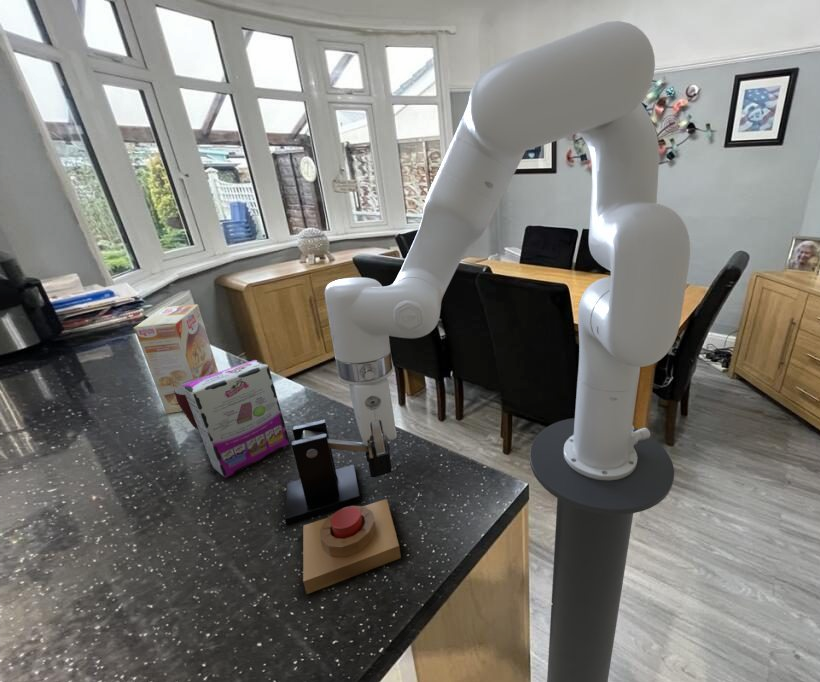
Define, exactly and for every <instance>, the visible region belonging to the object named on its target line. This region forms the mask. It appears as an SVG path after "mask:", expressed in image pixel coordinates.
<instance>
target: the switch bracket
mask: <svg viewBox="0 0 820 682" xmlns="http://www.w3.org/2000/svg"><path fill="white" fill-rule="evenodd" d="M291 429H292V434H293V438H294V440H293V441H291V448H292V453H293V456H294V460H295V464H296V468H297V472H298V476H299V479H296V480H293V481H290V482H287V483H286V490H285V491H286V494H285V511H284V513H285V514H284V520H285V524H286V526H290V525H292V524H295V523H298V522H302V521H305V520H308V519H311V518H314V517H318V516H321V515H324V514H327V513H331V512H333V511H338V510H341V509H343V508H345V507H350V506H353V505H356V504H359V503H361V502H362V500H361V495H360V488H359V484H358V478H357V472H356V467H355V464H350V465H346V466H344V467H340V468H337V469H336V464H335V460H334V456H333V451H332V450H333V449H330V448H329V444H328V439H330V436H329V432H328V427H327V423H326V419H321V420H316V421H313V422H308V423H303V424H299V425H295V426H292V428H291ZM303 430H307V431H316V432H324V434H322V435H318V436H314V437H309V438H305V439H301V436H302V433H303ZM300 439H301V440H300Z"/></svg>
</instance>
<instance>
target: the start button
mask: <svg viewBox="0 0 820 682" xmlns="http://www.w3.org/2000/svg"><path fill="white" fill-rule="evenodd" d="M338 510H339V511H338ZM338 510H336V511H335V512H336V513H335V512H334V513H335V514H334V513H333V514H334V515H333V514H332V515H333V517H332V519H331V526H332V530H333V534H334V535H335V536H336V537H337V538H341V539H344V538H348V537H351V536H354V535H355V534H356V533H358V532H359V531H360V529H361V528H362V525H363V521H362V516H361V512H360V510H359V509H358V508H356V507H350V506H346V507H343V508H340V509H338Z"/></svg>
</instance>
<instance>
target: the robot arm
mask: <svg viewBox="0 0 820 682" xmlns="http://www.w3.org/2000/svg"><path fill="white" fill-rule="evenodd" d="M655 57H656V56H655V53H654V49H653V45H652V44H651V41H650V39H649V37H648V36H647V35H646V34H645V32H644V31H643V30H641V29H640V28H639V27H638V26H636V25H634V24H632V23H629V22H625V21H620V20H615V21H614V20H613V21H612V20H611V21H606V22H602V23H598V24H596V25H592V26H590V27H588V28H584V29H582V30H580V31H577V32H575V33H572V34H569V35H567V36H564V37H561V38H559V39H557V40H553V41H552V42H548V43H545V44H543V45H540V46H536V47H535V48H532V49H529V50H526V51H524V52H521V53H519V54H516V55H513V56H510V57H508V58H505V59H503V60H500V61H498V62H495V63H494V64H492V65H490V66H489V67H488V68H486V69H484V71H482V72H481V74H479V76H477V78H476V80H475V81H474V83H473V85H472V87H471V89H470V92H469V97H468V103H467V105H466V108H465V110H464V112H463V114H462V117H461V119H460V121H459V123H458V125H457V128H456V131H455V133H454V135H453V137H452V140H451V142H450V144H449V146H448V149H447V150H446V153H445V155H444V157H443V160H442V162H441V164H440V166H439V169H438V170H437V173H436V175H435V177H434V179H433V182H432V183H431V186H430V187H429V190H428V192H427V195H426V198H425V201H424V205H423V209H422V217H421V220H420V224H419V226H418V230H417V232H416V235H415V237H414V240H413V242H412V244H411V246H410V249H409V250H408V253H407V255H406V257H405V259H404V262H403V264H402V266H401V269H400V270H399V272H398V274H397V276H396V278H395V280H394V281H393V283H391V284H390V285H386V286H385V285H382V283H380V282H379V281H378V280H377V279H375V278H370V277H361V276H360V277H358V276H357V277H345V278H341V279H336V280H334V281H331V282H330V283H328V284H327V285H326V287H325V288H324V289H325V290H324V302H325V306H326V307H325V308H326V313H327V320H328V324H329V331H330V336H331V341H332V348H333V354H334V359H335V366H336V372H337V377H338V380H339V381H340V382H341V383H343V384H345V385H348V388H349V394H350V398H351V405H352V409H353V414H354V418H355V422H356V425H357V429H358V431H359V435H360V438H361V442H363V444H364V445H366V446H368V451H369V452H365V458H366V462H367V463H368V470H369V475H370V478H377V477H380V476H383V475H387V474H390V473H392V471H393V470H392V464H391V463H392V461H391V455H390V450H388V446H387V442H388V441H392V440H393V441H394V440H396V439H397V437H398V434H397V428H396V422H395V421H396V420H395V415H394V409H393V402H392V395H391V390H390V385H389V384H390V383H389V381H388V378H389V377H390V376H391V375H392V374H393V372H394V371H393V363H392V362H393V361H392V352H391V351H392V350H391V343H390V337H393V338H402V339H418V338H423V337H425V336H427V335H429V334H431V333H432V331H434V329H435V328H436V327H437V325H438V323H439V321H440V318H441V317H440V316H441V310H442V301H443V298H444V295H445V293H446V291H447V289H448V287H449V285H450V283H451V281H452V279H453V277H454V275H455V273H456V271H457V269H458V267H459V265H460V263H461V262H462V260H463V258H464V256H465V254H466V253H467V252H468V250H469V249H470V247H471V246H472V245H473V244H474V243H475V242H476V241H477V240H478V239H480V238H481V236H483V234H484V233H485V231H486V230H487V228H488V227H489V225H490V224H491V223H490V222H491V221H492V218H493V216H494V215H495V213H496V210H497V208H498V207H499V204H500V202H501V200H502V198H503V196H504V194H505V192H506V190H507V189H508V186H509V185H510V182H511V181H512V179H513V177H514V175H515V173H516V171H517V169H518V168H519V165H520V163H521V161H522V159H523V157H524V156H525V153H526V151H529V150H533V149H535V148H539V147H543V146H545V145H548V144H551V143H555V142H557V141H560V140H562V139H566V138H569V137H571V136H574V135H576V134H579V136H580V137H581V138H582V140H583V142H584V143H585V145H586V147H587V149H588V153H589V156H590V164H591V195H590V197H591V198H590V210H589V211H590V214H589V228H588V248H589V252H590V255H591V257H592V258H593V259H594V261H596V263H597V264H598V265H600V266H601V267H603V268H605V269H606V270H608V271H610V276H606V277H605V276H604V277H601V278H598V279H597V280H595V281H594V282H591V284H590V285H588V286H587V287H586V289H585V290H584V292H583V293H582V295H581V298H580V301H579V304H578V311H577V326H578V327H577V328H578V347H579V348H578V351H579V352H578V367H577V369H578V370H577V381H576V394H575V395H576V396H575V397H576V398H575V407H574V408H575V409H574V418H575V422H574V435H573V436H571V437H570V438H569V439H568V440H567V441H566V443H565V445H564V457H565V460H566V462H567V463H568V464H569V466H570V467H571V468H573V469H574V470H575V471H577V472H578V473H580V474H582V475H584V476H586V477H589V478H593V479H597V480H618V479H621V478H624V477H626V476H628V475H630V474H631V473H632V472H633V471H634V470H635V468H636V465H637V458H638V457H637V453H636V451H635V449H634V448H633V447H634V445H636V444H637V442H638V441H642V440H644V439H647V438H649V437H650V436H651V432H650V430H649V429H648V427H642V428H638V429H639V430H637V431H635V432H633V431H634V427H635V426H634V425H633V423H634V416H635V409H636V402H637V394H638V386H639V381H640V375H641V368H643V367H648V366H651V365H653V364H656V363H657V362H659V361H661V360H662V359H663V358H664V357H665V356H666V355H667V354H668V353H669V352H670V350H671V349H672V348H673V345H674V344H675V342H676V339H677V336H678V333H679V331H680V330H679V329H680V324H681V320H682V312H683V306H684V302H685V301H684V299H685V294H686V287H687V280H688V275H689V266H690V259H691V241H690V236H689V230H688V228H687V225H686V223H685V222H684V220H683V218H682V217H681V216H680V215H679V214H678V213H677V212H676V211H675V210H674V209H672V208H670V207H669V206H666V205H664V204H661V203H658V201H657V200H658V188H659V187H658V186H659V168H660V167H659V166H660V146H659V140H658V135H657V132H656V131H657V130H656V127H655V125H654V123H653V121H652V118H651V116H650V114H649V113H648V111H647V109H646V107H645V106H644V104H643V103H642V102H643V101H644V100H645V98H646V96H647V95H648V93H649V90H650V89H651V86H652V83H653V79H654V77H655V69H656V64H655V63H656V58H655ZM387 439H388V440H387ZM372 444H374V445H375V447H374V448H373V450H372Z"/></svg>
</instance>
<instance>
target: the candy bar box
mask: <svg viewBox="0 0 820 682" xmlns="http://www.w3.org/2000/svg"><path fill="white" fill-rule="evenodd" d="M182 387H183V390H184V393H185V395H186V398H187V400H188V403H189V405H190V408H191V411H192V413H193V416H194V419H195V421H196V424H197V427H198V429H199V430H198V429H197V430H198V432H199V435H200V437H201V439H202V442H203V445H204V448H205V450H206V453H207V455H208V458H209V461H210V464H211V466H212V469H214V470H215V471H216V472H218V473H219V474H220V475H221V476H222V477H224V478H225V479H226V478H229V477H231V476H233V475H235V474H237V473H238V472H240V471H242V470H244V469H246V468H248V467H249V466H252V465H253V464H255V463H257V462H259V461H262V460H263V459H264V458H266V457H268V456H270V455H272V454H273V453H275V452H277V451H279V450H282V449H283V448H285V447H287V446H289V445H290V444H291V442H290V437H289V434H288V431H287V427H286V423H285V420H284V417H283V413H282V409H281V406H280V403H279V398H278V394H277V392H276V388H275V384H274V381H273V378H272V372H271V369H270V367H269V365H268V364H265V363H263V362H261V361H259V360H257V359H253V360H250V361H247V362H244V363H241V364H239V365H235V366H232V367H230V368H227V369H223V370H220V371H218V373H215V374H212V375H209V376H206V377H203V378H200V379H197V380H195V381H192V382H189V383H186V384H183V385H182Z"/></svg>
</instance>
